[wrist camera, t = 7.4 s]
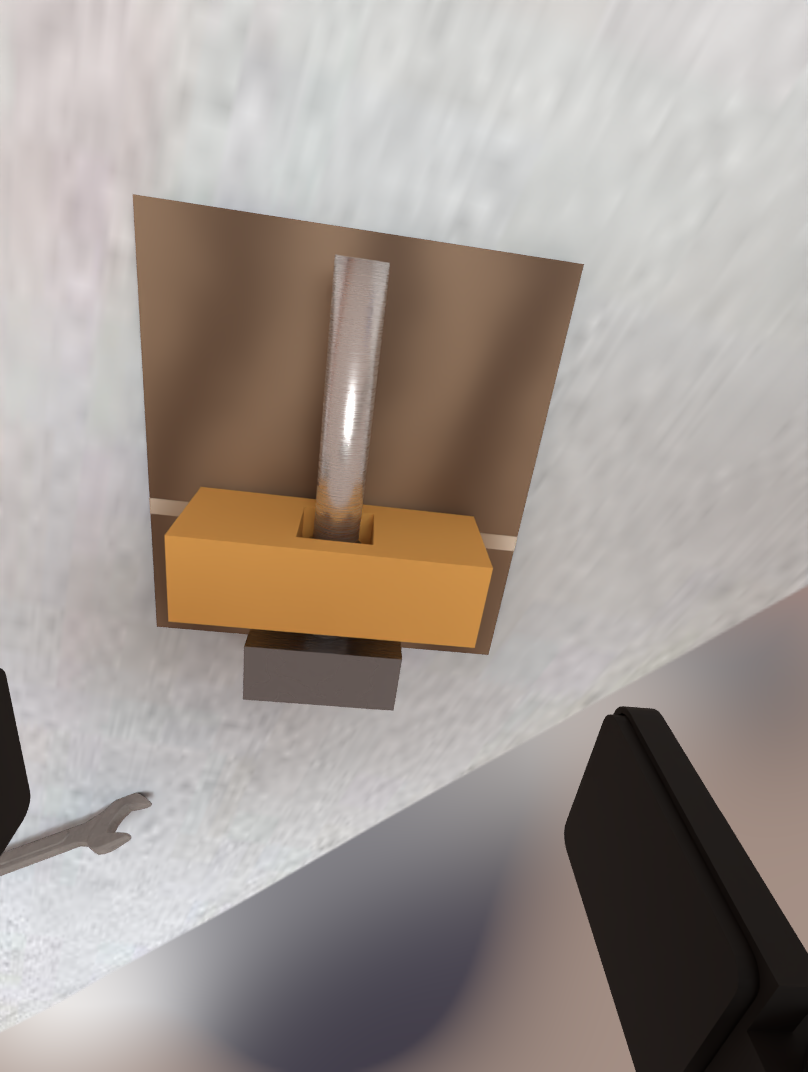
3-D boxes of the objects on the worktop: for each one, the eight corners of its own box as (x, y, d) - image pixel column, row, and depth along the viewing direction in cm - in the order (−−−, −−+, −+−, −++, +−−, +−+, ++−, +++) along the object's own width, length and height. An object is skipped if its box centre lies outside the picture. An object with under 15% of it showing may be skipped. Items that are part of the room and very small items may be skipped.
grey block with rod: (448, 271, 24) (465, 274, 19) (390, 646, 32) (393, 710, 28) (276, 244, 23) (253, 242, 19) (262, 635, 31) (243, 699, 27)
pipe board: (576, 264, 25) (584, 264, 24) (485, 644, 33) (488, 655, 33) (142, 196, 23) (132, 194, 22) (163, 615, 32) (156, 627, 31)
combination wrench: (-111, 937, 38) (144, 848, 35) (-126, 927, 37) (130, 835, 34) (-70, 881, 41) (166, 795, 38) (-84, 871, 41) (154, 782, 37)
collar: (473, 516, 28) (493, 568, 24) (459, 586, 30) (474, 647, 25) (200, 486, 27) (164, 535, 22) (202, 561, 29) (168, 621, 24)
